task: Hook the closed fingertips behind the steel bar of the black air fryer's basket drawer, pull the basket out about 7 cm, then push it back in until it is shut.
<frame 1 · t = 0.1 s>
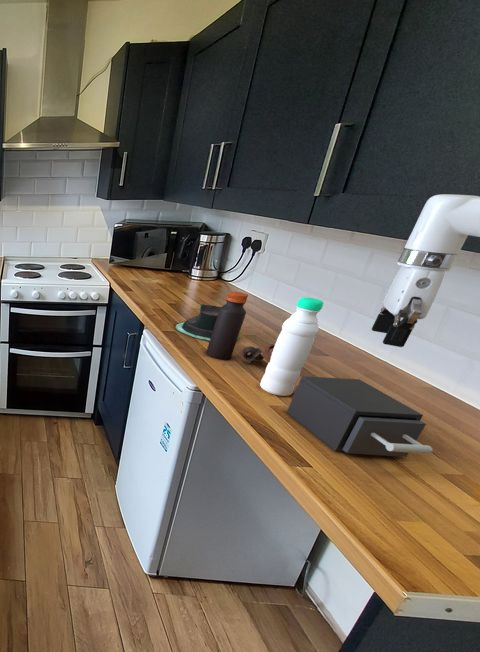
hand: (386, 338, 88), 20 cm above the worktop, tool pointing down, fingers open, 9 cm apart
basket: (366, 426, 82), point 5 cm above the worktop, slide at 0.5 cm
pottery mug: (259, 367, 119), on the worktop
chocolate cake: (205, 332, 145), on the worktop
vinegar: (218, 356, 125), on the worktop
air fryer: (338, 432, 89), on the worktop
water bottle: (274, 391, 106), on the worktop
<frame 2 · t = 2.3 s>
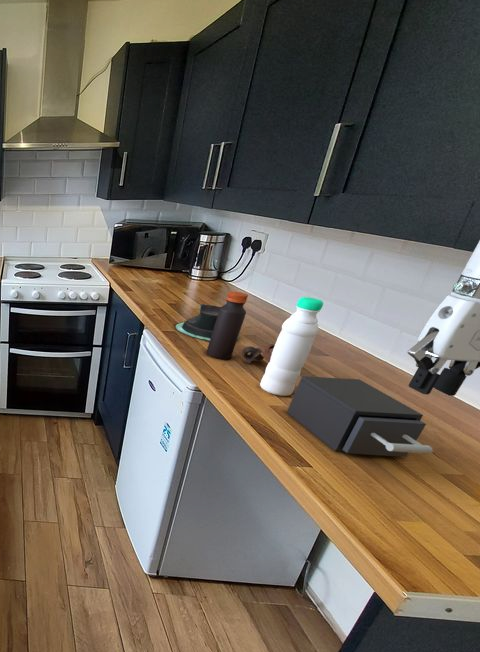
hand: (431, 390, 71), 17 cm above the worktop, tool pointing down, fingers open, 3 cm apart
nothing on the worktop moved.
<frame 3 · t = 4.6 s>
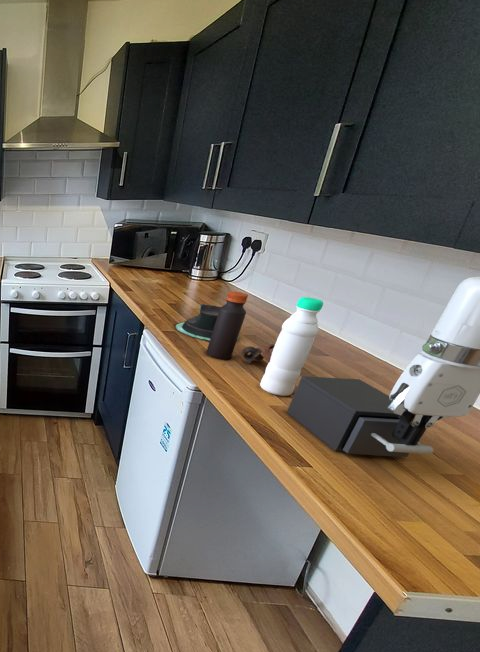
hand: (402, 440, 75), 7 cm above the worktop, tool pointing down, fingers closed
basket: (367, 426, 82), point 5 cm above the worktop, slide at 0.6 cm, touching gripper
everything else where it was.
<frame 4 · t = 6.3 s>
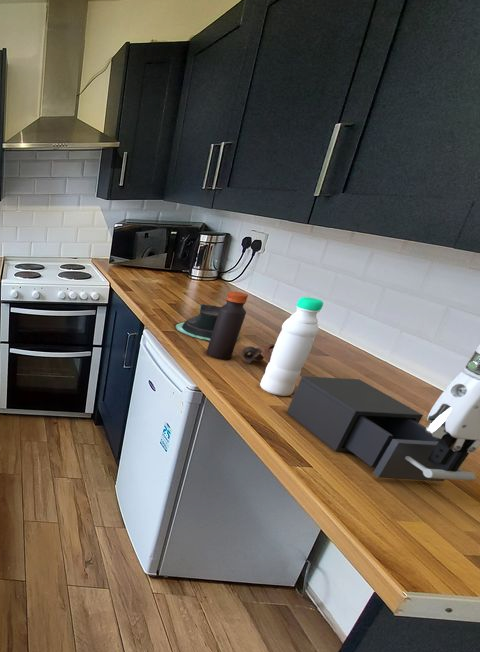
hand: (441, 465, 69), 7 cm above the worktop, tool pointing down, fingers closed
basket: (399, 447, 76), point 5 cm above the worktop, slide at 7.6 cm, touching gripper
everything else where it was.
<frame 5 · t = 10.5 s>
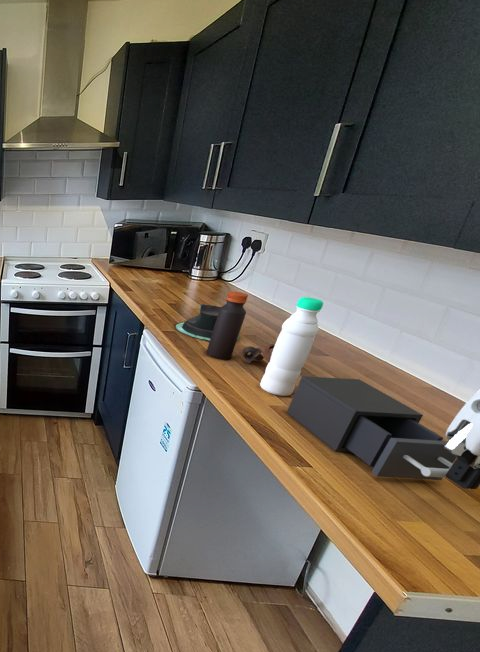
hand: (459, 482, 66), 6 cm above the worktop, tool pointing down, fingers closed
basket: (397, 446, 76), point 5 cm above the worktop, slide at 7.2 cm
everything else where it was.
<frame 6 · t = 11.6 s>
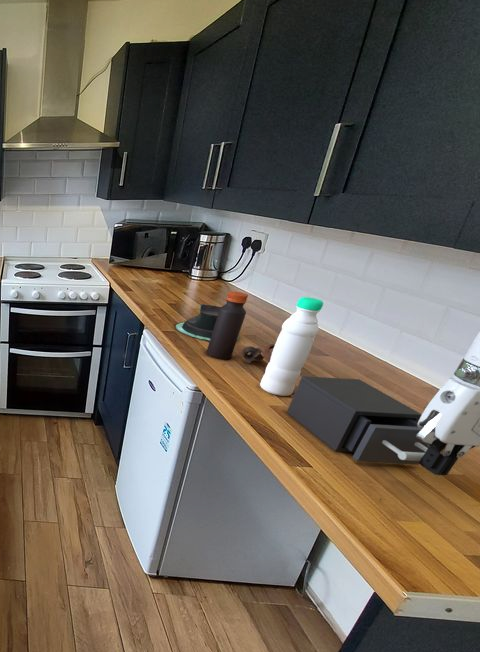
hand: (431, 469, 70), 5 cm above the worktop, tool pointing down, fingers closed
basket: (377, 433, 80), point 5 cm above the worktop, slide at 3.0 cm, touching gripper
everything else where it was.
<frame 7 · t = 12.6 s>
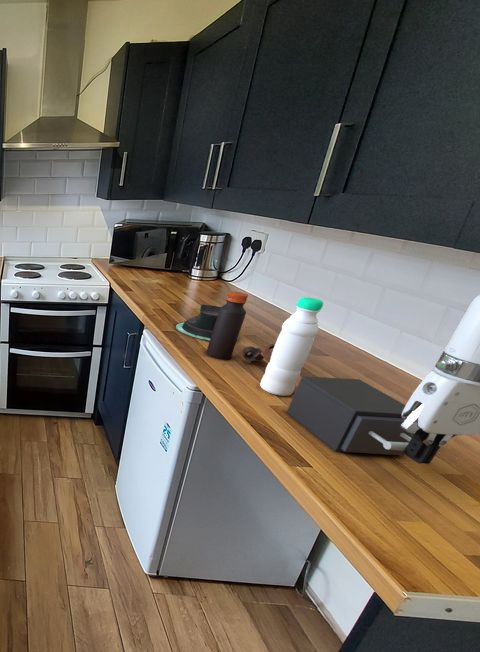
hand: (415, 458, 73), 5 cm above the worktop, tool pointing down, fingers closed
basket: (364, 424, 83), point 5 cm above the worktop, slide at 0.0 cm, touching air fryer, gripper
everything else where it was.
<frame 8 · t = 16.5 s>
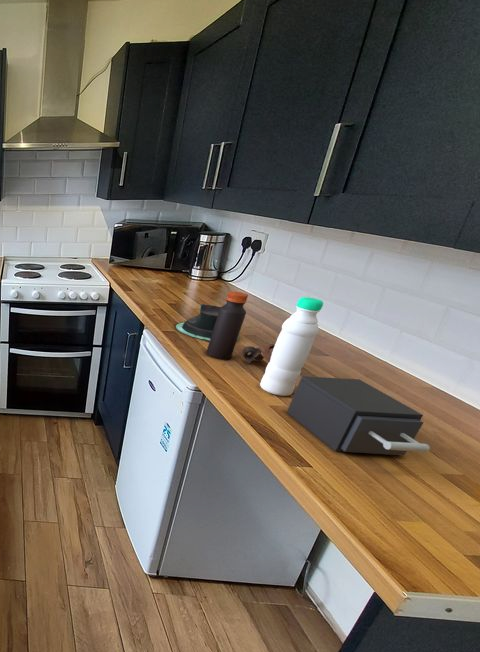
basket: (364, 424, 83), point 5 cm above the worktop, slide at 0.0 cm, touching air fryer
everything else where it was.
at the end: basket pulled out 7.6 cm at the most during the clip, back to where it started at the end; basket slide at 0.0 cm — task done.
